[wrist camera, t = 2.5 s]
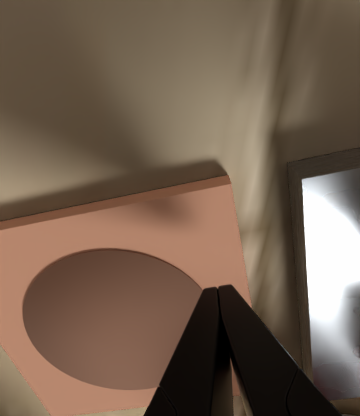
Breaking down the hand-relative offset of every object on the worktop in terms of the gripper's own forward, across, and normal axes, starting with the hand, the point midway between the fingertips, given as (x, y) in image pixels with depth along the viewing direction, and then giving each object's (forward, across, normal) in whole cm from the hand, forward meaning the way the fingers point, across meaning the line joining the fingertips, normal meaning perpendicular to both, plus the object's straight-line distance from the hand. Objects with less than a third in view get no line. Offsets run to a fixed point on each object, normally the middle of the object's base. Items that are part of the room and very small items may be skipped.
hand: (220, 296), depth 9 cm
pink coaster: (+3, +4, +3) cm, 6 cm away
